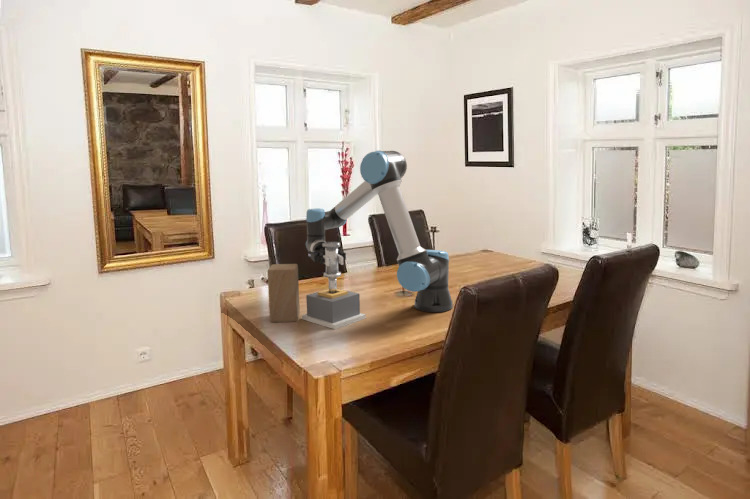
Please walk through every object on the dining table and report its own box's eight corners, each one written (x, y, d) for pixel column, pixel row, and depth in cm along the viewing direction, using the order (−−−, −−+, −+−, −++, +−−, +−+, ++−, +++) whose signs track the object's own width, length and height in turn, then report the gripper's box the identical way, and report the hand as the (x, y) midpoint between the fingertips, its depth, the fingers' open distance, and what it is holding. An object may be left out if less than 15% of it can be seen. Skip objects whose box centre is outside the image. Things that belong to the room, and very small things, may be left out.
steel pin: (345, 296, 198) (343, 242, 194) (332, 300, 193) (330, 245, 189) (333, 293, 202) (331, 241, 198) (320, 297, 197) (318, 243, 194)
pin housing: (365, 318, 199) (365, 291, 197) (334, 329, 187) (333, 300, 185) (332, 309, 211) (331, 283, 209) (301, 319, 199) (300, 292, 197)
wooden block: (300, 313, 206) (297, 263, 202) (297, 321, 196) (294, 269, 193) (274, 314, 206) (271, 264, 202) (270, 322, 196) (267, 269, 192)
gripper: (343, 258, 215) (359, 269, 193) (299, 261, 210) (311, 274, 188) (342, 239, 214) (358, 249, 192) (299, 242, 208) (310, 253, 187)
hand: (335, 261), depth 190 cm, fingers closed on steel pin, 5 cm apart
